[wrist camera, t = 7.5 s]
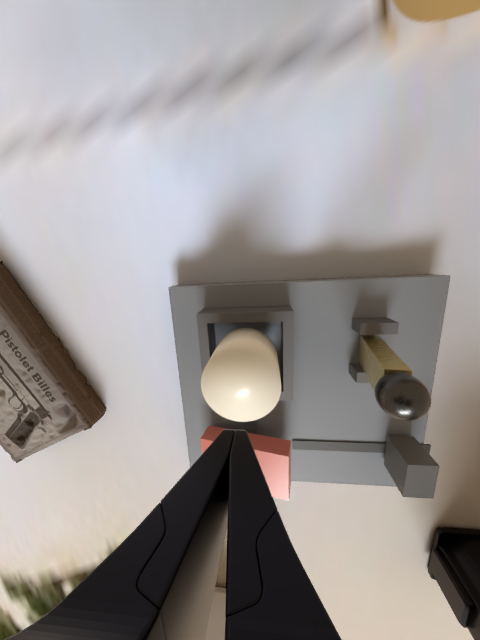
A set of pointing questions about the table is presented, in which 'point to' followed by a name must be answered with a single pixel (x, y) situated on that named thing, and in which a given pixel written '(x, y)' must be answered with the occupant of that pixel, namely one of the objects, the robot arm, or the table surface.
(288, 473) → the rocker
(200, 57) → the table surface
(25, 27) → the table surface
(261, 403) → the button
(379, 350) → the lever
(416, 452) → the slider
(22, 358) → the grey flat block
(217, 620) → the can
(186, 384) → the panel
